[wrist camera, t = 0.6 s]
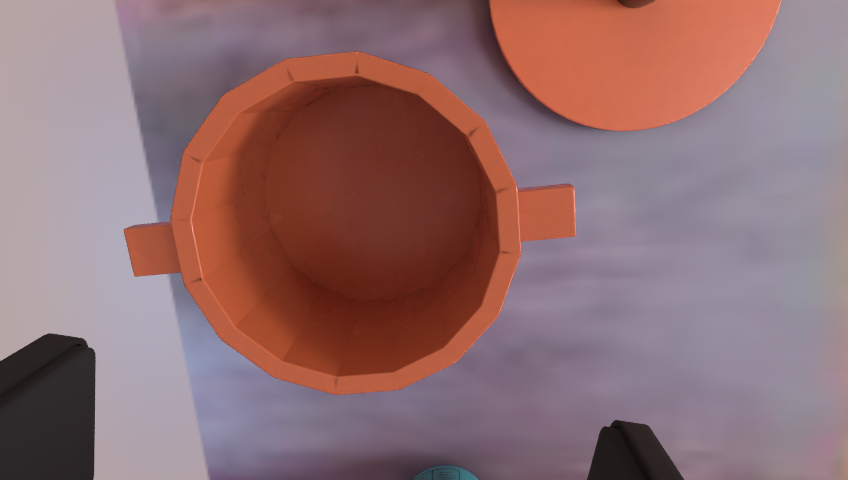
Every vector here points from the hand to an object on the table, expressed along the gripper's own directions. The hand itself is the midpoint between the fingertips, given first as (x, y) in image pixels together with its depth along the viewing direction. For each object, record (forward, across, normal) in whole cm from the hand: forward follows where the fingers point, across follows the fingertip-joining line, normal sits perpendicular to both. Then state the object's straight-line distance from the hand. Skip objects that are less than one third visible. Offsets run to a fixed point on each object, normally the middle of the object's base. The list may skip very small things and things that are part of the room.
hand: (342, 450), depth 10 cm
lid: (+27, -11, -15) cm, 33 cm away
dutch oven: (+28, +2, 0) cm, 28 cm away
